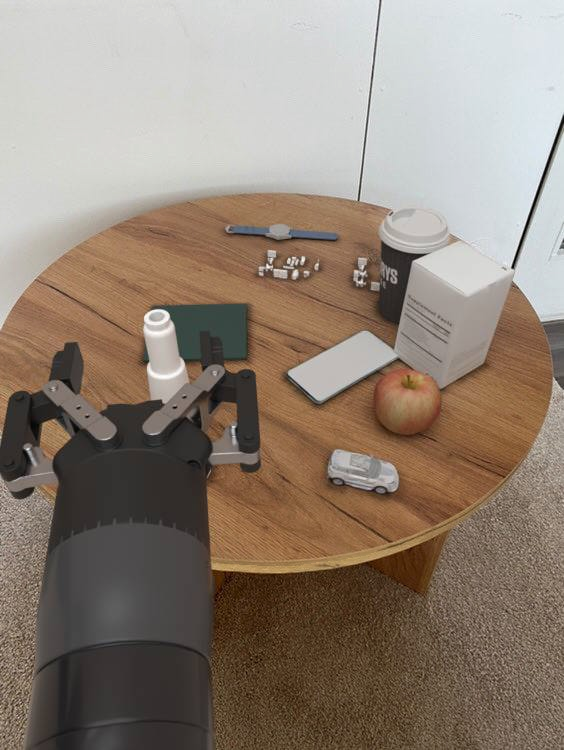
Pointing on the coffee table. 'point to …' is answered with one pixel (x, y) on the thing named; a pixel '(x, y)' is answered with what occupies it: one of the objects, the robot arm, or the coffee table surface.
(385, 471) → the toy car
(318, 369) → the smartphone
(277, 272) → the miniature furniture
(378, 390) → the apple
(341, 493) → the coffee table surface
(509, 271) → the white product box
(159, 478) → the robot arm
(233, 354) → the mat
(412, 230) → the coffee cup
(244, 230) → the wristwatch
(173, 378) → the cosmetic bottle
